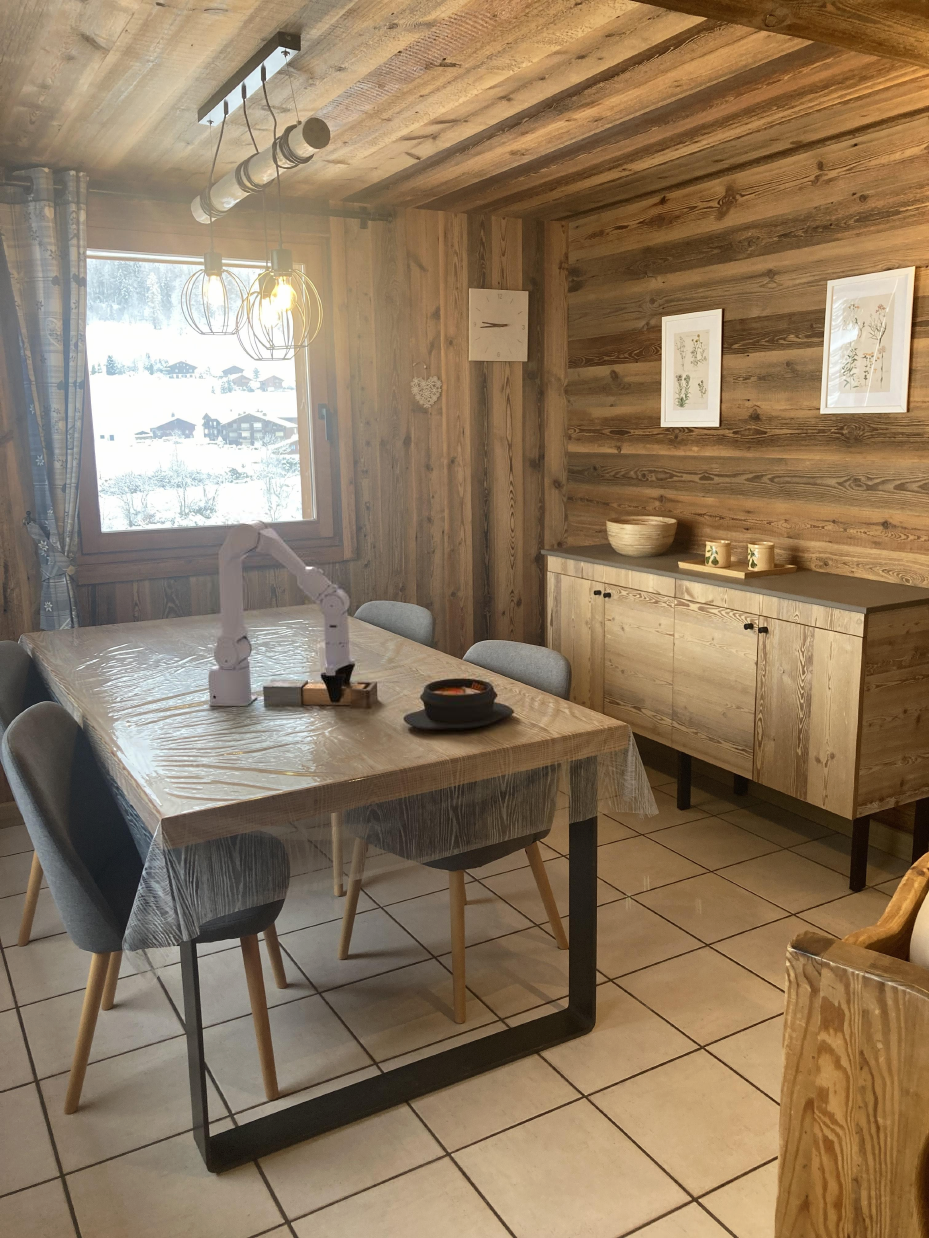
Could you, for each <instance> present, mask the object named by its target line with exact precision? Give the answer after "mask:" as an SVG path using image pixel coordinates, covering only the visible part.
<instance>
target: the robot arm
mask: <svg viewBox="0 0 929 1238" xmlns="http://www.w3.org/2000/svg"><path fill="white" fill-rule="evenodd" d="M255 549H256V550H255ZM254 550H255V552H256V553H262V554H263V553H264V554H269V555H272V556H273V557H274V559H276V560H277V561H278V562H280V563H281V564H282V565H283V566H284V567H285V568H286V569H288V570H289V571H290V573H292V574H293V575H294V576H295V577H296V581H297V585H298V587H299V588H300V589H301V590H303V592H305V594H307V595H308V596H309V597H310V598H311V599H312V600H313V601H314V602H315V603H316V604H319V605H318V607H319V611H320V612H321V614H322V615H323V635H324V642H325V659H326V660H325V665H326V672H323V673H320V680H321V679H322V680H323V682H324V683H325V685H326V688H327V691H328V694H329V698H330V701H331V702H332V703H339V702H340V700H341V692H342V684H351V677H352V674H353V671H354V669H355V666H356V659H355V658H351V656H350V652H351V651H350V634H349V633H350V632H349V630H350V628H349V620H348V611H347V610H348V608H349V607H350V605H351V604H350V603H351V601H350V597H349V595H348V594H347V592H346V591H345V590H344V589H341V588H339V586H338V585H337V584H333V583H332V582H331V581H330V580H329V579H328V578H327V576H324V575H323V574H324V571H323V570H322V569H321V568H319V569H318V568H317V567H315V566H307V565H306V564H305V563H304V562H303V561H302V560H301V559H300V558H299V556H297V554H296V553H295V552H294V551H293V550H292V549H291V548H290V547H289V546H288V544H287V543H285V542H284V540H282V538H281V537H280V536H279V535H278V533H277V532H276V531H275V530H274V529H273V528H271V527H269V526H268V524H267V523H266V522H265V521H263V520H261V519H252V520H251V521H248V522H242V523H239V524H236V526H234V527H232V528H231V529H230V530H229V531H228V532H227V537H226V539H225V541H224V542H223V544H222V546H221V548H220V549H219V551H218V575H219V576H218V577H219V597H220V598H219V599H220V600H219V604H220V624H221V625H220V630H219V632H218V635H217V637H216V639H217V640H216V647H215V648H214V651H213V659H214V661H215V663H216V664H217V665H213V666H211V668H209V669H210V670H209V672H208V693H209V703H208V706H215V707H216V706H220V707H222V706H223V707H224V706H225V707H247V706H249V705H250V704H251V703H252V702H254V701H255V700H256V699H257V698H258V695H256V694H255V695H253V694H252V682H251V669H250V660H249V657H250V656H251V654H252V651H253V645H252V642H251V641H250V639H249V635H248V633H249V632H248V629H247V628H246V626H245V621H244V620H245V619H244V617H245V615H244V591H243V589H244V588H243V564H242V563H243V562H242V561H243V559H245V558H246V557H247V556H248V555H250V553H251V552H252V551H254Z"/></svg>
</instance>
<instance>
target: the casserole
mask: <svg viewBox="0 0 929 1238" xmlns="http://www.w3.org/2000/svg"><path fill="white" fill-rule="evenodd" d="M419 698H420V701H422V703H423V707H424V708H423V709H420V710H417V711H414V712H411V713H407V714H405V715H404V716H403V722H404V723H406V724H407V725H409V726H411V727H413V728H417V729H421V730H439V729H441V730H449V731H466V730H472V729H477V728H480V727H483V726H486V725H490V724H492V723H494V722H496V721H499V720H501V719H504V718H507V717H510V716H512V715H513V714H515V710H514V709H513V708H512V707H510V706H509V705H507V704H504V703H500V702H497V701H495V700H496V699H497V698H498V693H497V692H496V691H495V687H494V686H493V684H492V683H490V682H488V681H485V680H482V679H476V678H462V677H461V678H458V677H457V678H456V677H455V678H446V679H441V680H436V681H431V682H429V683H428V684H426V685H424V688H423V692H422V693H421V695H420V696H419Z"/></svg>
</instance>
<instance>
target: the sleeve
mask: <svg viewBox="0 0 929 1238" xmlns="http://www.w3.org/2000/svg"><path fill="white" fill-rule="evenodd" d="M305 684H309V679H271V680H269V681H268V682H267V683H266V684H265V685H263V686H262V690H263V691H262V692H263V693H262V694H263V707H276V708H277V707H278V708H279V707H282V708H283V707H284V708H285V707H286V708H291V707H292V708H302V707H303V704H302V695H301V688H302V687H303V686H304V685H305Z"/></svg>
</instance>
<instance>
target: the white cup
mask: <svg viewBox="0 0 929 1238" xmlns="http://www.w3.org/2000/svg"><path fill="white" fill-rule="evenodd" d="M316 646H317V654H318V655H317V656H318V657H317V658H318V666H319V667H318V668H319V672H320V674H321V673H323V672H326V665H325V660H326V659H325V641H322V642H319V643H317V644H316ZM320 681H321V683H320V684H325V683H324V682H323V680H322V679H321V678H320Z"/></svg>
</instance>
